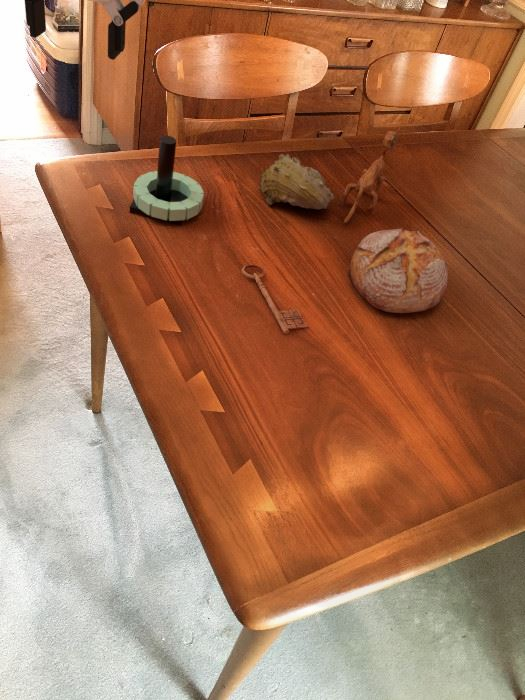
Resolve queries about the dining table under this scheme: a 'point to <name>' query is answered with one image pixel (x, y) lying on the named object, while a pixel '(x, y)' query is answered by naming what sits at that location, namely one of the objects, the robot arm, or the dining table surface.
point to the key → (276, 313)
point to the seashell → (294, 184)
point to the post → (164, 178)
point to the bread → (399, 271)
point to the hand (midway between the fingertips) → (76, 45)
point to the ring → (165, 208)
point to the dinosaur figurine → (371, 177)
